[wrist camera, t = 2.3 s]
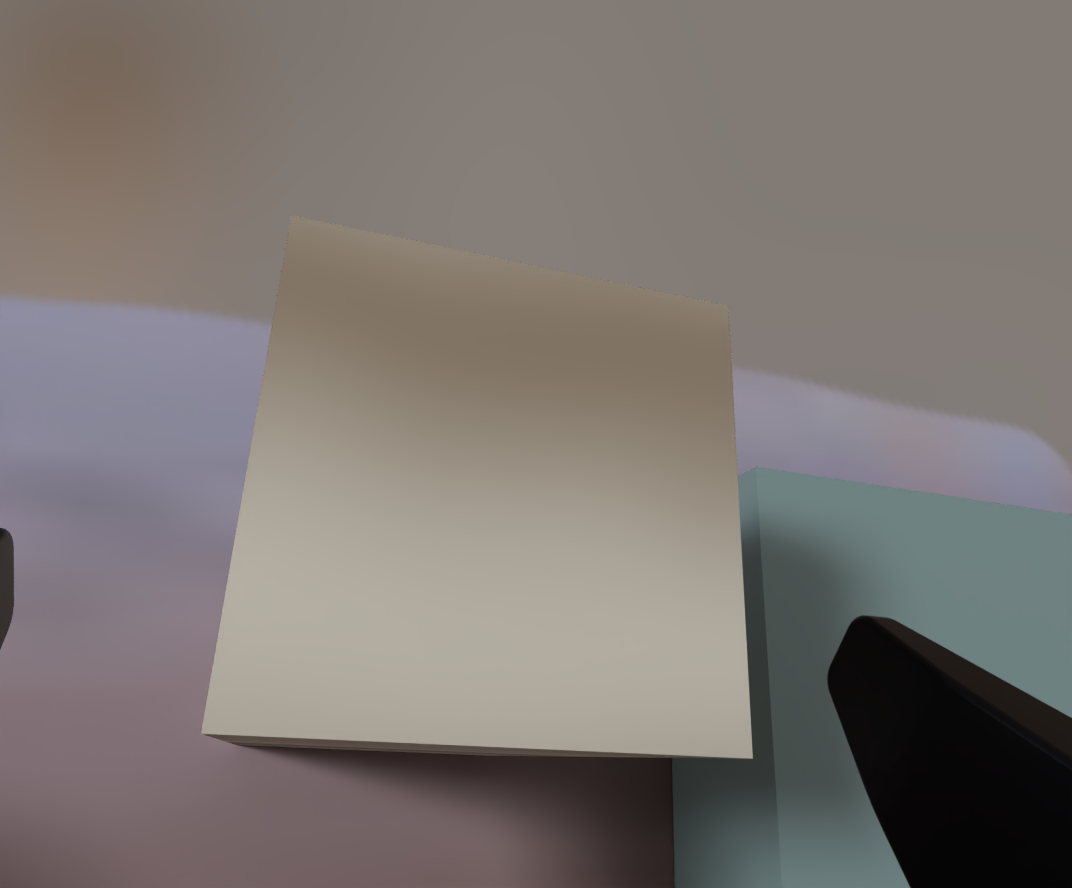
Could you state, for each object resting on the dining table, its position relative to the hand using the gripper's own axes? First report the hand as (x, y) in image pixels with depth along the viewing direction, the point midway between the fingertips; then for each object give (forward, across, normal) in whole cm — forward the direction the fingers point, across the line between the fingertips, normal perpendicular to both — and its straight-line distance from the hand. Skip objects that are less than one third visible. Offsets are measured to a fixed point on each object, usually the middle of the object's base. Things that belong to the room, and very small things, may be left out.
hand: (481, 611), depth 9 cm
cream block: (+7, 0, +6) cm, 9 cm away
